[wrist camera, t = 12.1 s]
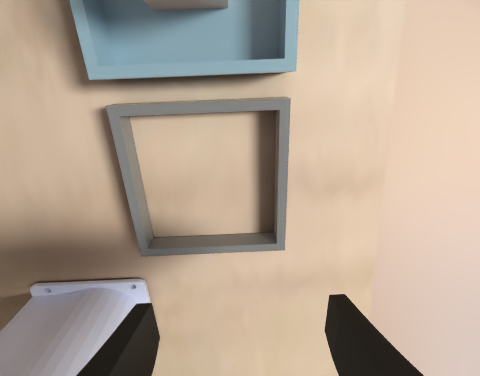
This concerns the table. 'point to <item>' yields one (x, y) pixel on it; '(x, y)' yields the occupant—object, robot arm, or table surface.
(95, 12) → the slate-blue tray
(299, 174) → the table surface
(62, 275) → the table surface
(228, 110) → the charcoal square frame
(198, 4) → the terracotta block
